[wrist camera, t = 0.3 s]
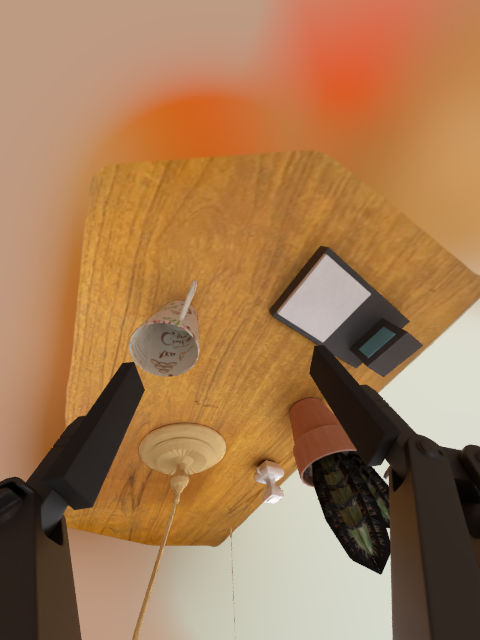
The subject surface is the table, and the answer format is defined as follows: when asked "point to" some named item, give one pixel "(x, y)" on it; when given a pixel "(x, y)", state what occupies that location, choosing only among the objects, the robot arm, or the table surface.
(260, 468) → the stamp
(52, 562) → the robot arm
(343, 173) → the table surface
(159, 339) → the mug
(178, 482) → the desk lamp
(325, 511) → the potted plant
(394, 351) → the scale
